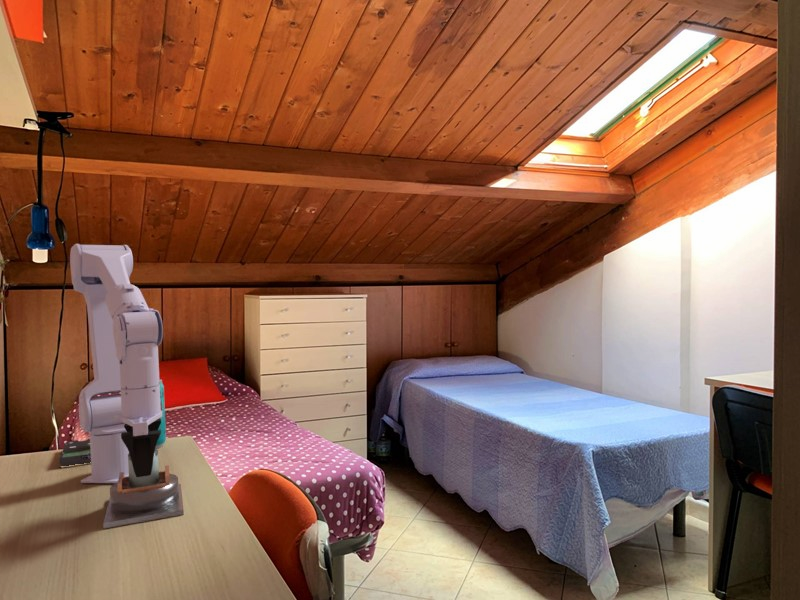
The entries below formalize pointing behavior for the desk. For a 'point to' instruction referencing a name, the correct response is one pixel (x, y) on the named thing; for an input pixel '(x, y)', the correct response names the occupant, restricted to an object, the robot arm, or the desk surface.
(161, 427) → the beverage can
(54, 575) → the desk surface
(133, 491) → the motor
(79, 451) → the disk drive
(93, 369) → the robot arm
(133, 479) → the cylinder
